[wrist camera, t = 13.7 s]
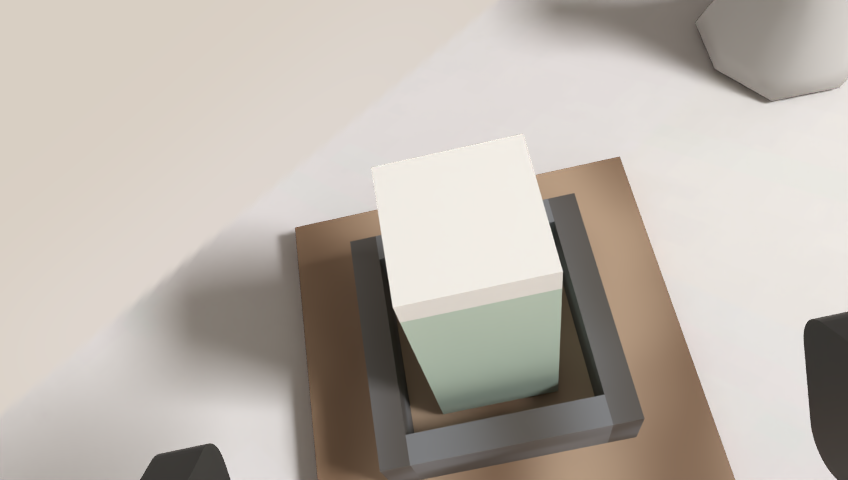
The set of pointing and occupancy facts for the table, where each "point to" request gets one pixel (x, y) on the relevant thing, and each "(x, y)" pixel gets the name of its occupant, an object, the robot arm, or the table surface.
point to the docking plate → (527, 417)
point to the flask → (778, 44)
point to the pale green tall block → (473, 271)
